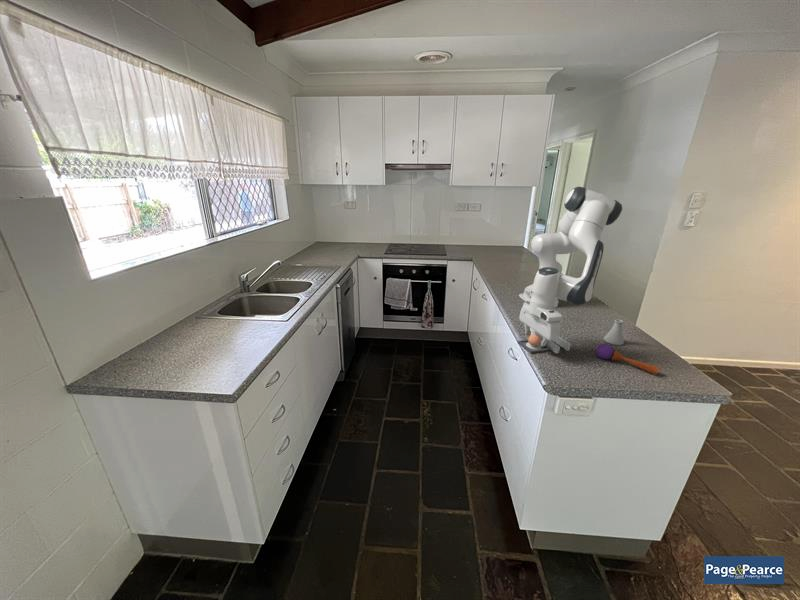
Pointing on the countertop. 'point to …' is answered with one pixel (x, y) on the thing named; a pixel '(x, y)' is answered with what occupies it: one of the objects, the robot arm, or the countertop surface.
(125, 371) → the countertop surface
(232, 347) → the countertop surface
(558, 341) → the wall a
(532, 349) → the gray square tray
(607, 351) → the purple and orange maraca
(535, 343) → the ball
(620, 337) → the flask
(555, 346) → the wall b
